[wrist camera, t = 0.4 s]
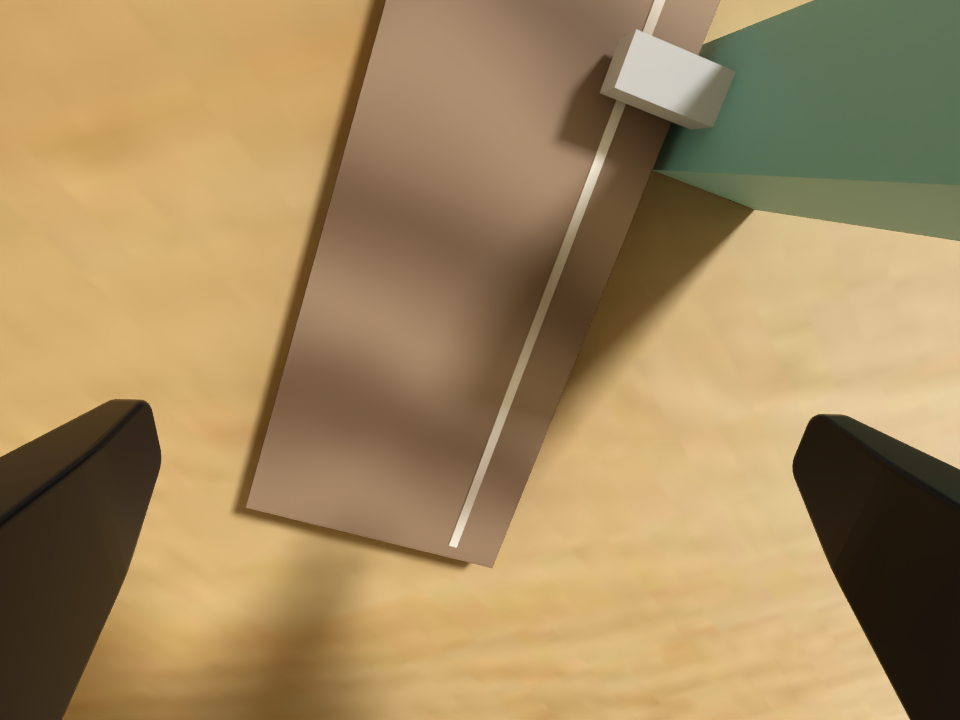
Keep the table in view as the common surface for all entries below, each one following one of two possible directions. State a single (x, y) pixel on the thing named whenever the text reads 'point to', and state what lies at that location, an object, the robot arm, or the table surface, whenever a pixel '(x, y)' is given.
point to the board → (461, 265)
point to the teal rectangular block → (814, 112)
